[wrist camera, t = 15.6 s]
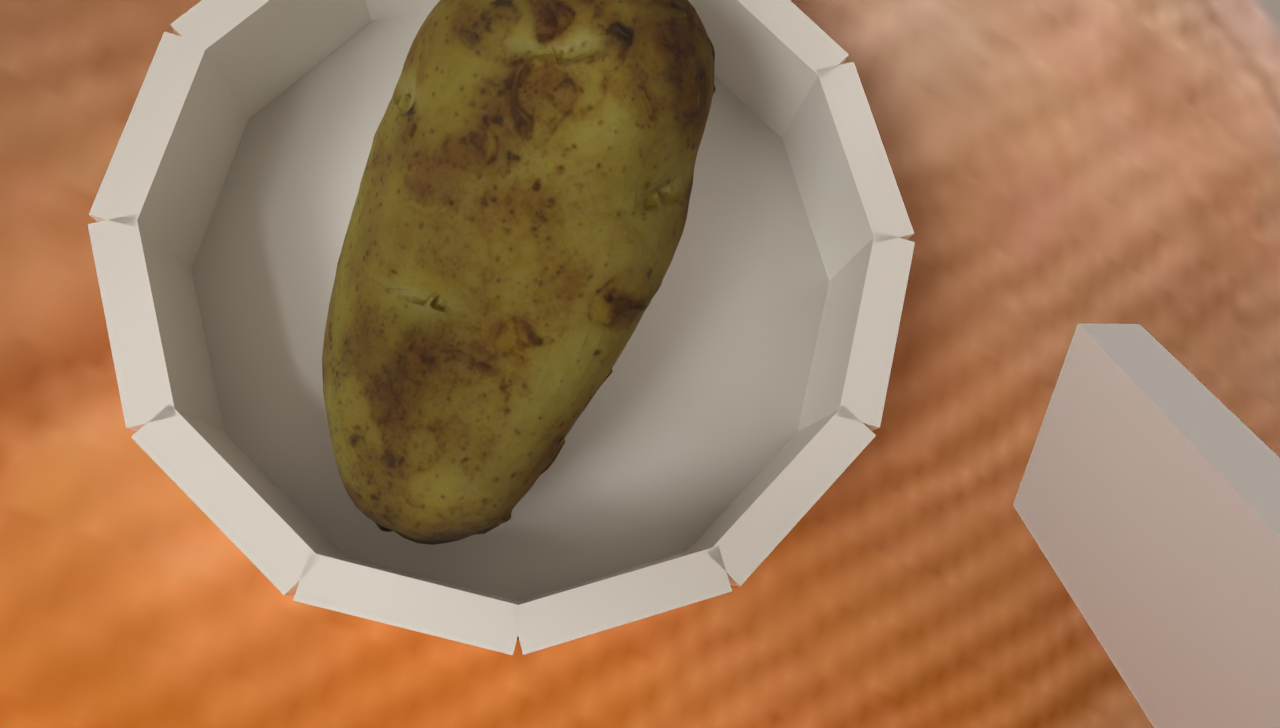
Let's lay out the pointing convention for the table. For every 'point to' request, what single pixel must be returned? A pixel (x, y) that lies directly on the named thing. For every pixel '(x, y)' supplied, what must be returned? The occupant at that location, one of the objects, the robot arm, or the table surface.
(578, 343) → the potato
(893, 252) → the bowl
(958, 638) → the table surface
